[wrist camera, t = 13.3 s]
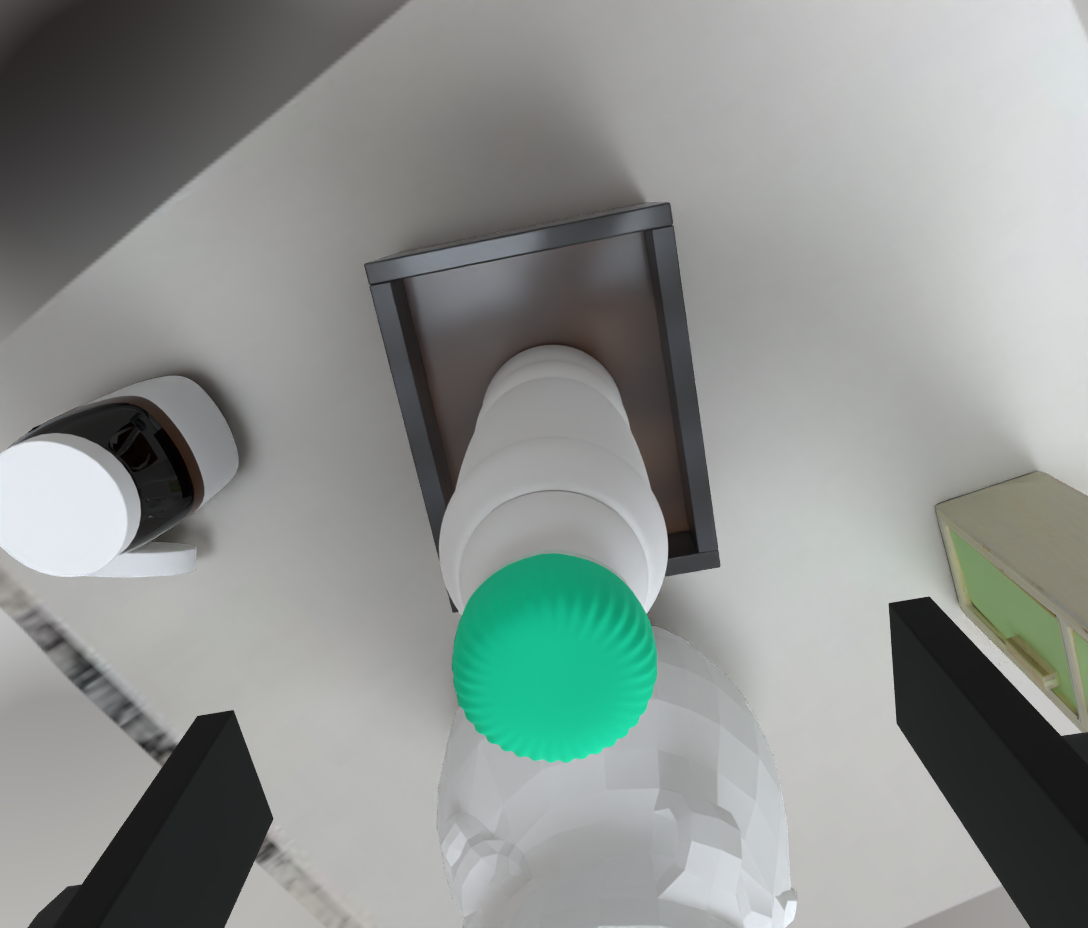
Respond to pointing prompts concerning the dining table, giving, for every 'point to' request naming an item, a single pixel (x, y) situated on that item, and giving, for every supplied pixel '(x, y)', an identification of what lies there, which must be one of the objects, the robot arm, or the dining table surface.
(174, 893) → the robot arm
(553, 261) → the open rectangular box
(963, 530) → the beige rectangular block
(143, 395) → the spread jar
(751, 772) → the white vase
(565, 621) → the water bottle
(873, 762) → the dining table surface
